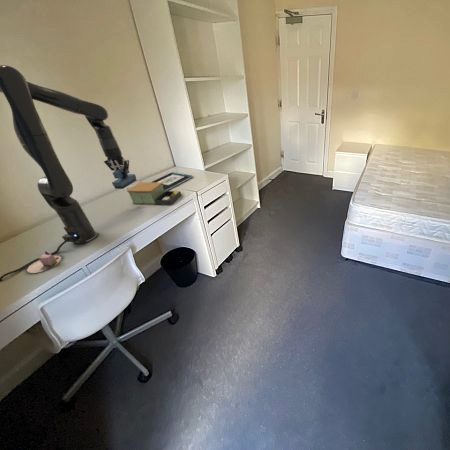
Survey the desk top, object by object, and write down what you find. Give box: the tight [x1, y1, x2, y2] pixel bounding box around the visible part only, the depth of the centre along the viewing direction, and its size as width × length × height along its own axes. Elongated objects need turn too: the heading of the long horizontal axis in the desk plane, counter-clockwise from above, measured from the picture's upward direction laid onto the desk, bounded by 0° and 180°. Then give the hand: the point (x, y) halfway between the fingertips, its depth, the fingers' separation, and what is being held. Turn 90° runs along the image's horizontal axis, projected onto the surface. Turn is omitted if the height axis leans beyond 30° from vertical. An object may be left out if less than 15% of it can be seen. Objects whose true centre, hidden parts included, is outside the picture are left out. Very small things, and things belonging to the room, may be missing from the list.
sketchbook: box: [151, 171, 194, 191], centre depth 188 cm, size 22×30×2 cm
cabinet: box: [126, 181, 165, 205], centre depth 163 cm, size 13×16×9 cm
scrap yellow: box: [171, 189, 179, 197], centre depth 166 cm, size 4×4×2 cm
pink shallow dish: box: [26, 251, 62, 275], centre depth 114 cm, size 12×12×4 cm
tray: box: [154, 190, 182, 206], centre depth 164 cm, size 13×10×3 cm
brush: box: [111, 168, 137, 190], centre depth 144 cm, size 12×5×9 cm, turn 174°
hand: (123, 177), depth 144 cm, fingers closed on brush, 2 cm apart
